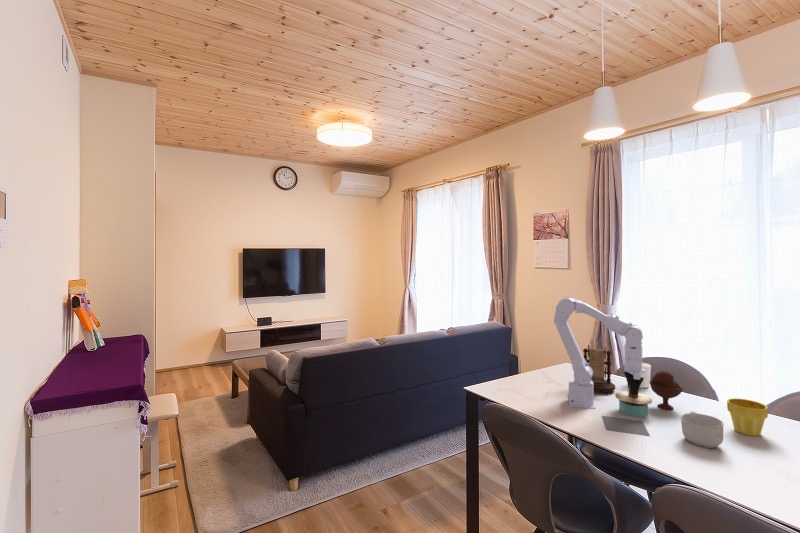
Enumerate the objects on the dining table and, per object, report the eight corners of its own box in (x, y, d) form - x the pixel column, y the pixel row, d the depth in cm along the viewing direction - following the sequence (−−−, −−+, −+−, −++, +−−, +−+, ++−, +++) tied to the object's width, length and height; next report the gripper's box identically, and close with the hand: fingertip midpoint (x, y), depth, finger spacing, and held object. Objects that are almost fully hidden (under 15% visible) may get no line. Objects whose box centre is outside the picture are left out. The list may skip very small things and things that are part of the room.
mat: (606, 431, 132) (606, 429, 132) (601, 416, 144) (601, 415, 144) (650, 437, 127) (650, 436, 127) (641, 421, 140) (641, 420, 139)
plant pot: (723, 430, 132) (723, 402, 132) (731, 422, 138) (731, 395, 138) (764, 441, 124) (764, 411, 124) (770, 432, 130) (771, 404, 130)
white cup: (654, 388, 175) (654, 366, 175) (637, 388, 175) (637, 366, 175) (643, 382, 183) (644, 362, 183) (627, 382, 183) (627, 362, 183)
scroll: (577, 391, 172) (577, 347, 172) (580, 382, 185) (580, 340, 185) (615, 396, 165) (615, 350, 164) (615, 386, 178) (615, 344, 177)
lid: (618, 401, 143) (618, 387, 143) (612, 392, 155) (612, 379, 155) (656, 405, 139) (656, 391, 139) (647, 395, 150) (647, 382, 150)
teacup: (726, 455, 116) (726, 429, 115) (682, 446, 121) (682, 421, 121) (718, 437, 127) (718, 413, 127) (678, 429, 133) (678, 406, 133)
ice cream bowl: (688, 414, 146) (688, 375, 146) (655, 412, 148) (656, 373, 148) (674, 403, 156) (674, 367, 156) (644, 402, 159) (644, 366, 158)
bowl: (621, 416, 144) (621, 404, 144) (617, 407, 153) (617, 396, 153) (649, 420, 141) (650, 407, 141) (644, 410, 150) (644, 399, 149)
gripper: (650, 363, 138) (649, 400, 139) (641, 354, 152) (641, 388, 152) (627, 361, 141) (627, 398, 141) (621, 352, 155) (621, 386, 155)
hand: (633, 392), depth 147 cm, fingers closed on lid, 3 cm apart
